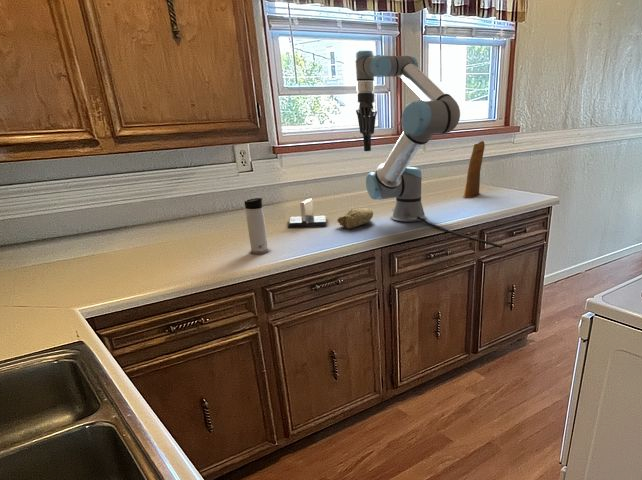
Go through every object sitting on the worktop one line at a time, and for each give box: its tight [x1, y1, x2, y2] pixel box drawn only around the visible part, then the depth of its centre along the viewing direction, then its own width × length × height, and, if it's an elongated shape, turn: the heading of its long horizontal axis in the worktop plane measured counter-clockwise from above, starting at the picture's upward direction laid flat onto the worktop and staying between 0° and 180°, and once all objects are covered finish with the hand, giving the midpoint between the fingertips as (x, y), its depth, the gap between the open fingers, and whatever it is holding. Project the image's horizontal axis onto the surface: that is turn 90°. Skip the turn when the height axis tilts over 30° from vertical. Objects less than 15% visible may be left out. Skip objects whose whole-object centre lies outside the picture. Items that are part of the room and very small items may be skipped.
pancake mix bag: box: [463, 140, 486, 199], centre depth 284 cm, size 7×19×28 cm, turn 148°
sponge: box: [336, 207, 374, 230], centre depth 233 cm, size 13×8×20 cm
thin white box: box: [299, 198, 315, 222], centre depth 233 cm, size 10×2×8 cm, turn 168°
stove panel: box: [289, 215, 327, 229], centre depth 236 cm, size 16×14×2 cm
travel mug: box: [244, 197, 269, 255], centre depth 193 cm, size 6×7×20 cm
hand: (367, 150), depth 234 cm, fingers closed
